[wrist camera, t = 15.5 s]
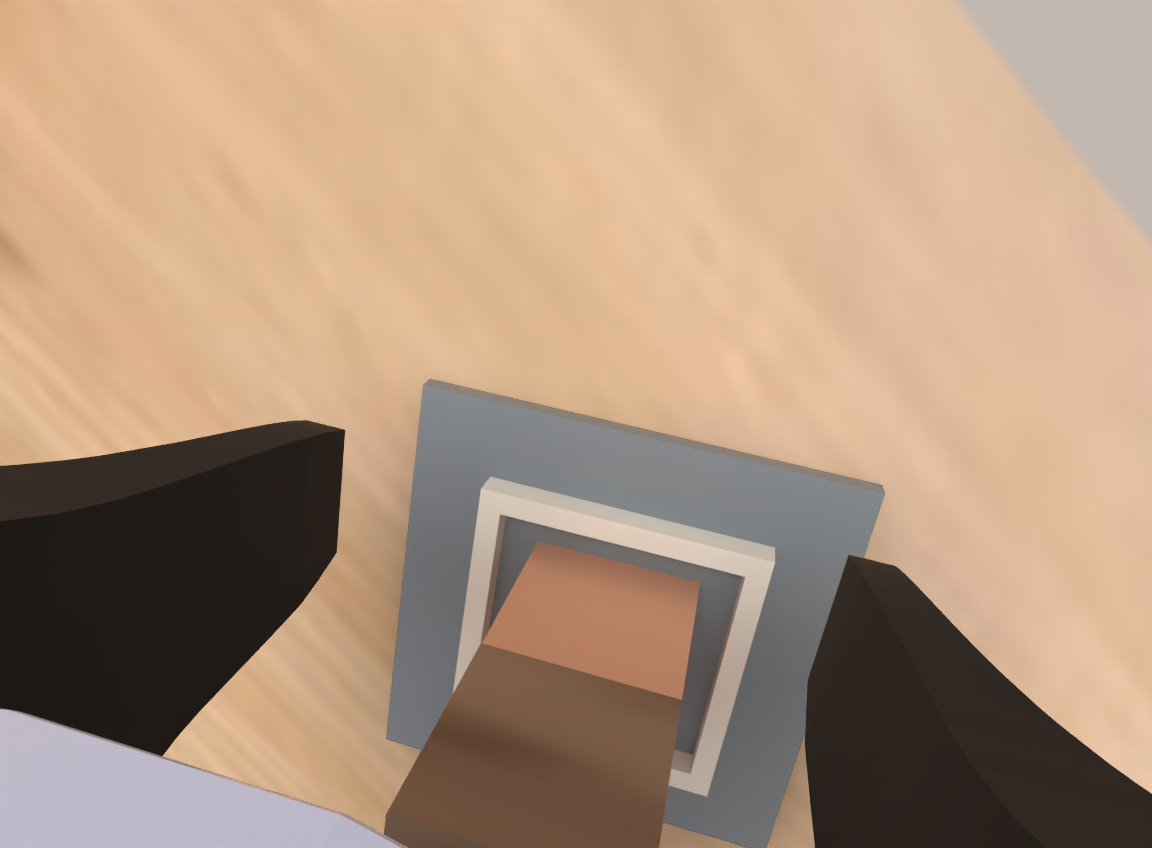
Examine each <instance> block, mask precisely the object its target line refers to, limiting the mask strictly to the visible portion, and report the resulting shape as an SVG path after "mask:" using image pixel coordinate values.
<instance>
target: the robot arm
mask: <svg viewBox="0 0 1152 848" xmlns="http://www.w3.org/2000/svg"><path fill="white" fill-rule="evenodd" d="M344 438H345V430H343V429H339V428H335V427H331V426H327V425H323V424H319V423H315V422H311V421H307V420H303V421H288V422H280V423H274V424H268V425H262V426H257V427H251V428H246V429H241V430H236V431H231V432H226V433H221V434H216V435H212V436H207V437H202V438H197V439H192V440H187V441H182V442H177V443H171V444H166V445H160V446H154V447H148V448H143V449H137V450H131V451H125V452H120V453H114V454H108V455H102V456H94V457H87V458H79V459H71V460H63V461H53V462H42V463H32V464H22V465H8V466H0V848H408V847H406V846H404V845H402V844H401V843H399V842H397V841H395V840H393V839H391V838H389V837H388V836H386V835H384V834H382V833H380V832H378V831H377V830H375V829H373V828H371V827H369V826H367V825H366V824H364V823H362V822H360V821H358V820H356V819H354V818H353V817H351V816H349V815H346V814H343V813H340V812H337V811H334V810H331V809H327V808H324V807H321V806H318V805H315V804H312V803H308V802H305V801H302V800H299V799H296V798H293V797H289V796H286V795H283V794H280V793H277V792H274V791H270V790H267V789H264V788H261V787H258V786H255V785H251V784H248V783H245V782H242V781H239V780H236V779H232V778H229V777H226V776H223V775H220V774H217V773H213V772H210V771H207V770H204V769H201V768H198V767H194V766H191V765H188V764H185V763H182V762H179V761H175V760H172V759H169V758H166V757H163V755H164V753H165V752H166V751H167V749H168V748H169V747H170V746H171V744H172V743H173V742H174V740H175V739H176V738H177V737H178V735H179V734H180V733H181V732H182V731H183V730H184V728H185V727H186V726H187V725H188V724H189V723H190V722H191V720H192V719H193V718H194V717H195V716H196V715H197V714H198V712H199V711H200V710H201V709H202V708H203V707H204V706H205V705H206V704H207V703H208V702H209V701H210V700H211V699H212V698H213V697H214V696H215V695H216V693H217V692H218V691H219V690H220V689H221V688H222V687H223V686H224V685H225V684H226V683H227V682H228V681H229V680H230V679H231V678H232V677H233V676H234V675H235V674H236V673H237V671H238V670H239V669H240V668H241V667H242V666H243V665H244V664H245V663H246V662H247V661H248V660H249V659H250V658H251V657H252V656H253V655H254V654H255V653H256V652H257V651H258V650H259V648H260V647H261V646H262V645H263V644H264V643H265V642H266V641H267V640H268V639H269V638H270V637H271V636H272V635H273V634H274V633H275V632H276V630H277V629H278V628H279V627H280V626H281V625H282V624H283V623H284V622H285V621H286V620H287V619H288V618H289V617H290V615H291V614H292V613H293V612H294V611H295V610H296V609H297V608H298V607H299V606H300V604H301V603H302V602H303V601H304V599H305V598H306V596H307V595H308V594H309V592H310V591H311V589H312V588H313V587H314V585H315V584H316V583H317V581H318V580H319V578H320V577H321V575H322V574H323V572H324V571H325V569H326V568H327V566H328V565H329V563H330V562H331V560H332V559H333V557H334V556H335V554H336V553H337V538H338V524H339V510H340V495H341V481H342V467H343V452H344ZM805 750H806V762H807V772H808V783H809V793H810V803H811V813H812V822H813V832H814V841H815V848H1152V794H1151V793H1150V792H1148V791H1147V790H1145V789H1144V788H1142V787H1141V786H1139V785H1138V784H1136V783H1135V782H1134V781H1132V780H1131V779H1130V778H1128V777H1127V776H1125V775H1124V774H1123V773H1121V772H1120V771H1118V770H1117V769H1116V768H1114V767H1113V766H1111V765H1110V764H1109V763H1107V762H1106V761H1105V760H1104V759H1102V758H1101V757H1100V756H1098V755H1097V754H1096V753H1095V752H1093V751H1092V750H1091V749H1090V748H1088V747H1087V746H1086V745H1084V744H1083V743H1082V742H1081V741H1079V740H1078V739H1077V738H1076V737H1074V736H1073V735H1072V734H1070V733H1069V732H1068V731H1067V730H1065V729H1064V728H1063V727H1061V726H1060V725H1059V724H1058V723H1057V722H1055V721H1054V720H1053V719H1052V718H1051V717H1050V716H1048V715H1047V714H1046V713H1045V712H1044V711H1042V710H1041V709H1040V708H1039V707H1038V706H1037V705H1036V704H1035V703H1033V702H1032V701H1031V700H1030V699H1029V698H1028V697H1027V696H1026V695H1025V694H1024V693H1023V692H1021V691H1020V690H1019V689H1018V688H1017V687H1016V686H1015V685H1014V684H1013V683H1012V682H1011V681H1009V680H1008V679H1007V678H1006V677H1005V676H1004V675H1003V674H1002V673H1001V672H1000V671H999V670H998V669H997V668H996V667H995V666H994V665H993V664H992V663H990V662H989V661H988V660H987V659H986V658H985V657H984V656H983V655H982V654H981V653H980V652H979V651H978V650H977V649H976V648H975V647H974V646H973V645H972V644H971V643H970V642H969V640H968V639H967V638H966V637H965V636H964V635H963V634H962V633H961V632H960V631H959V630H958V629H957V628H956V627H955V626H954V625H953V624H952V623H951V622H950V621H949V620H948V619H947V618H946V616H945V615H944V614H943V613H942V612H941V611H940V610H939V609H938V608H937V607H936V606H935V605H934V604H933V603H932V602H931V600H930V599H929V598H928V597H927V596H926V595H925V594H924V593H923V592H922V591H921V590H920V589H919V588H918V587H917V586H916V585H915V584H914V583H913V582H912V581H911V580H910V579H909V578H908V577H907V576H906V575H905V574H904V573H903V572H902V571H901V570H900V569H898V568H897V567H896V566H893V565H889V564H884V563H880V562H876V561H872V560H868V559H864V558H860V557H856V556H852V555H848V558H847V561H846V564H845V567H844V570H843V573H842V576H841V579H840V582H839V586H838V589H837V592H836V595H835V598H834V601H833V604H832V607H831V610H830V613H829V616H828V619H827V622H826V625H825V628H824V631H823V635H822V638H821V641H820V644H819V647H818V650H817V653H816V656H815V659H814V662H813V665H812V668H811V671H810V674H809V677H808V684H807V703H806V728H805Z"/></svg>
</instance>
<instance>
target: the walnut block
mask: <svg viewBox="0 0 1152 848" xmlns="http://www.w3.org/2000/svg"><path fill="white" fill-rule="evenodd" d="M681 702H682V700H680V699H677V698H673V697H670V696H666V695H663V694H659V693H656V692H652V691H648V690H645V689H641V688H638V687H634V686H631V685H627V684H624V683H620V682H617V681H613V680H610V679H606V678H603V677H599V676H596V675H592V674H589V673H585V672H581V671H578V670H574V669H571V668H567V667H564V666H560V665H557V664H553V663H550V662H546V661H543V660H539V659H536V658H532V657H529V656H525V655H521V654H518V653H514V652H511V651H507V650H504V649H500V648H497V647H493V646H490V645H486V644H483V643H481V644H480V646H479V648H478V649H477V651H476V653H475V655H474V657H473V659H472V660H471V662H470V664H469V666H468V668H467V669H466V671H465V673H464V675H463V677H462V678H461V680H460V682H459V684H458V686H457V687H456V689H455V691H454V693H453V695H452V696H451V698H450V700H449V702H448V704H447V705H446V707H445V709H444V711H443V713H442V715H441V716H440V718H439V720H438V722H437V724H436V725H435V727H434V729H433V731H432V733H431V734H430V736H429V738H428V740H427V742H426V743H425V745H424V747H423V749H422V751H421V752H420V754H419V756H418V758H417V760H416V761H415V763H414V765H413V767H412V769H411V771H410V772H409V774H408V776H407V778H406V780H405V781H404V783H403V785H402V787H401V789H400V790H399V792H398V794H397V796H396V798H395V799H394V801H393V803H392V805H391V807H390V808H389V810H388V812H387V814H386V821H385V830H384V835H386V836H388V837H389V838H391V839H393V840H395V841H397V842H399V843H401V844H402V845H404V846H406V847H408V848H659V842H660V836H661V830H662V823H663V817H664V811H665V804H666V798H667V791H668V785H669V779H670V772H671V766H672V760H673V753H674V747H675V741H676V734H677V728H678V721H679V715H680V709H681Z"/></svg>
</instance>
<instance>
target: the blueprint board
mask: <svg viewBox="0 0 1152 848" xmlns="http://www.w3.org/2000/svg"><path fill="white" fill-rule="evenodd" d="M884 494H885V492H884V489H883V486H882V485H879V484H874V483H870V482H866V481H862V480H857V479H853V478H849V477H845V476H840V475H836V474H832V473H828V472H823V471H819V470H815V469H811V468H806V467H802V466H798V465H794V464H789V463H785V462H781V461H777V460H772V459H768V458H764V457H760V456H755V455H751V454H747V453H743V452H738V451H734V450H730V449H726V448H721V447H717V446H713V445H708V444H704V443H700V442H696V441H691V440H687V439H683V438H679V437H674V436H670V435H666V434H662V433H657V432H653V431H649V430H645V429H640V428H636V427H632V426H628V425H623V424H619V423H615V422H611V421H606V420H602V419H598V418H594V417H589V416H585V415H581V414H577V413H572V412H568V411H564V410H560V409H555V408H551V407H547V406H543V405H538V404H534V403H530V402H526V401H521V400H517V399H513V398H509V397H504V396H500V395H496V394H492V393H487V392H483V391H479V390H475V389H470V388H466V387H462V386H458V385H453V384H449V383H445V382H441V381H436V380H432V379H430V380H428V381H427V382H426V383H424V384H423V391H422V401H421V410H420V420H419V430H418V439H417V449H416V458H415V468H414V477H413V487H412V497H411V506H410V516H409V525H408V535H407V545H406V554H405V564H404V573H403V583H402V592H401V602H400V612H399V621H398V631H397V640H396V650H395V659H394V669H393V679H392V688H391V698H390V707H389V717H388V726H387V736H386V739H387V740H390V741H394V742H397V743H400V744H404V745H407V746H410V747H414V748H417V749H420V750H422V749H423V747H424V745H425V743H426V742H427V740H428V738H429V736H430V734H431V733H432V731H433V729H434V727H435V725H436V724H437V722H438V720H439V718H440V716H441V715H442V713H443V711H444V709H445V707H446V705H447V704H448V702H449V700H450V698H451V696H452V695H453V693H454V691H455V689H456V687H457V686H458V684H459V682H460V680H461V678H462V677H463V675H464V673H465V671H466V669H467V668H468V666H469V664H470V662H471V660H472V659H473V657H474V655H475V653H476V651H477V649H478V648H479V646H480V644H481V643H482V642H483V640H484V639H485V637H486V635H487V633H488V631H489V629H490V628H491V626H492V624H493V622H494V620H495V619H496V617H497V615H498V613H499V611H500V610H501V608H502V606H503V604H504V602H505V600H506V599H507V597H508V595H509V593H510V591H511V590H512V588H513V586H514V584H515V582H516V581H517V579H518V577H519V575H520V573H521V571H522V570H523V568H524V566H525V564H526V562H527V561H528V559H529V557H530V555H531V553H532V552H533V550H534V548H535V546H536V544H537V542H538V541H541V542H545V543H549V544H553V545H557V546H560V547H564V548H568V549H572V550H576V551H580V552H584V553H587V554H591V555H595V556H599V557H603V558H607V559H611V560H614V561H618V562H622V563H626V564H630V565H634V566H638V567H641V568H645V569H649V570H653V571H657V572H661V573H664V574H668V575H672V576H676V577H680V578H684V579H688V580H691V581H695V582H699V583H700V588H699V594H698V601H697V607H696V613H695V620H694V626H693V633H692V639H691V645H690V652H689V658H688V664H687V671H686V677H685V684H684V690H683V696H682V702H681V709H680V715H679V721H678V728H677V734H676V741H675V747H674V753H673V760H672V766H671V772H670V779H669V785H668V791H667V798H666V804H665V811H664V817H663V822H664V823H667V824H670V825H674V826H677V827H680V828H684V829H687V830H690V831H694V832H697V833H700V834H704V835H707V836H710V837H714V838H717V839H720V840H724V841H727V842H730V843H734V844H737V845H740V846H744V847H747V848H766V847H767V844H768V841H769V838H770V835H771V832H772V829H773V826H774V823H775V820H776V817H777V814H778V811H779V808H780V805H781V802H782V799H783V796H784V793H785V790H786V787H787V784H788V781H789V778H790V775H791V772H792V769H793V766H794V763H795V760H796V757H797V754H798V751H799V748H800V745H801V743H802V740H803V737H804V734H805V728H806V703H807V684H808V677H809V674H810V671H811V668H812V665H813V662H814V659H815V656H816V653H817V650H818V647H819V644H820V641H821V638H822V635H823V631H824V628H825V625H826V622H827V619H828V616H829V613H830V610H831V607H832V604H833V601H834V598H835V595H836V592H837V589H838V586H839V582H840V579H841V576H842V573H843V570H844V567H845V564H846V561H847V558H848V555H852V556H856V557H860V558H863V557H864V554H865V551H866V548H867V545H868V542H869V539H870V536H871V533H872V530H873V527H874V524H875V521H876V518H877V515H878V512H879V509H880V506H881V503H882V500H883V497H884Z"/></svg>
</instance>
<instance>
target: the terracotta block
mask: <svg viewBox="0 0 1152 848" xmlns="http://www.w3.org/2000/svg"><path fill="white" fill-rule="evenodd" d="M699 588H700V583H699V582H695V581H691V580H688V579H684V578H680V577H676V576H672V575H668V574H664V573H661V572H657V571H653V570H649V569H645V568H641V567H638V566H634V565H630V564H626V563H622V562H618V561H614V560H611V559H607V558H603V557H599V556H595V555H591V554H587V553H584V552H580V551H576V550H572V549H568V548H564V547H560V546H557V545H553V544H549V543H545V542H541V541H538V542H537V544H536V546H535V548H534V550H533V552H532V553H531V555H530V557H529V559H528V561H527V562H526V564H525V566H524V568H523V570H522V571H521V573H520V575H519V577H518V579H517V581H516V582H515V584H514V586H513V588H512V590H511V591H510V593H509V595H508V597H507V599H506V600H505V602H504V604H503V606H502V608H501V610H500V611H499V613H498V615H497V617H496V619H495V620H494V622H493V624H492V626H491V628H490V629H489V631H488V633H487V635H486V637H485V639H484V640H483V642H482V643H483V644H486V645H490V646H493V647H497V648H500V649H504V650H507V651H511V652H514V653H518V654H521V655H525V656H529V657H532V658H536V659H539V660H543V661H546V662H550V663H553V664H557V665H560V666H564V667H567V668H571V669H574V670H578V671H581V672H585V673H589V674H592V675H596V676H599V677H603V678H606V679H610V680H613V681H617V682H620V683H624V684H627V685H631V686H634V687H638V688H641V689H645V690H648V691H652V692H656V693H659V694H663V695H666V696H670V697H673V698H677V699H680V700H682V696H683V690H684V684H685V677H686V671H687V664H688V658H689V652H690V645H691V639H692V633H693V626H694V620H695V613H696V607H697V601H698V594H699Z"/></svg>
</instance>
